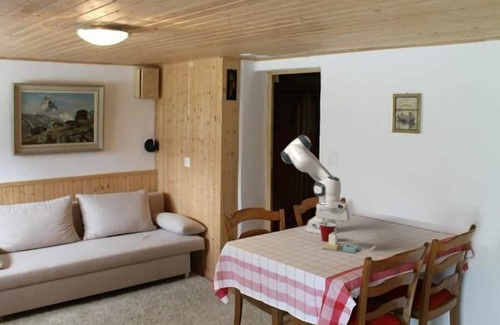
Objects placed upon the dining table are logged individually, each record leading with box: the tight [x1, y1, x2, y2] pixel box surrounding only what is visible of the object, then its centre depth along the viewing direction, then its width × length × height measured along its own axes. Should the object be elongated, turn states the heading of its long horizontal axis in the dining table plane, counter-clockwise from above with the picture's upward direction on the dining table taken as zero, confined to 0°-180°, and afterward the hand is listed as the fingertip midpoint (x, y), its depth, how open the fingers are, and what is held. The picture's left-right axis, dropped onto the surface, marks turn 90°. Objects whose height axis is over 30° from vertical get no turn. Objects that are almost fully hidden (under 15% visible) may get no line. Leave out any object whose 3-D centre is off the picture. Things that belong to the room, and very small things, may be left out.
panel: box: [322, 242, 361, 255], centre depth 307 cm, size 20×12×4 cm, turn 62°
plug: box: [329, 232, 338, 245], centre depth 309 cm, size 4×4×9 cm
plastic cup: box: [319, 222, 337, 243], centre depth 325 cm, size 11×11×12 cm
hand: (332, 226), depth 308 cm, fingers open, 8 cm apart
